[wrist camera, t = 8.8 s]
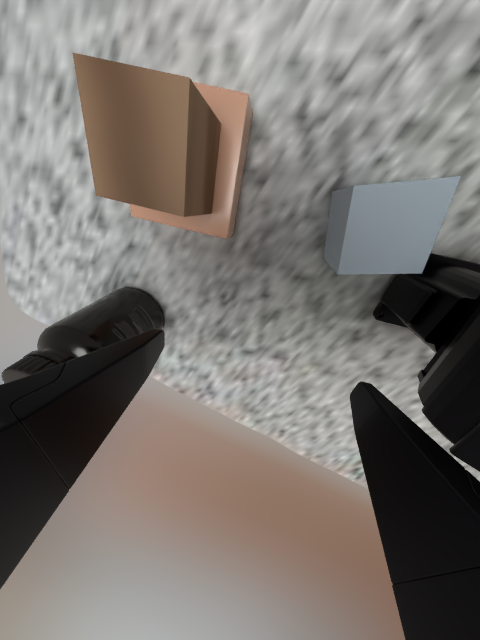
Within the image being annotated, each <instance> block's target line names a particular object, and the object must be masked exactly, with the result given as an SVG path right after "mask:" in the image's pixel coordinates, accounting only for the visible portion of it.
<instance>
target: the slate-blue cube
mask: <svg viewBox="0 0 480 640" xmlns="http://www.w3.org/2000/svg"><path fill="white" fill-rule="evenodd" d="M460 178H461V176H458V177H447V178H435V179H424V180H413V181H402V182H391V183H379V184H368V185H357V186H351V187H348V188H344V189H340V190H336V191H333V192H332V197H331V204H330V211H329V218H328V225H327V233H326V240H325V247H324V254H323V259H324V260H325V261H326V262H327V264H328V265H329V266H330V267H331V268H332V269H333V270H334V271H335V273H336V274H337V275H358V274H418V273H422V272H423V270H424V267H425V265H426V262H427V260H428V257H429V255H430V252H431V250H432V248H433V245H434V243H435V240H436V238H437V235H438V233H439V230H440V228H441V225H442V223H443V220H444V218H445V215H446V213H447V210H448V208H449V205H450V203H451V200H452V198H453V195H454V193H455V190H456V188H457V185H458V183H459V180H460Z"/></svg>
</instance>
